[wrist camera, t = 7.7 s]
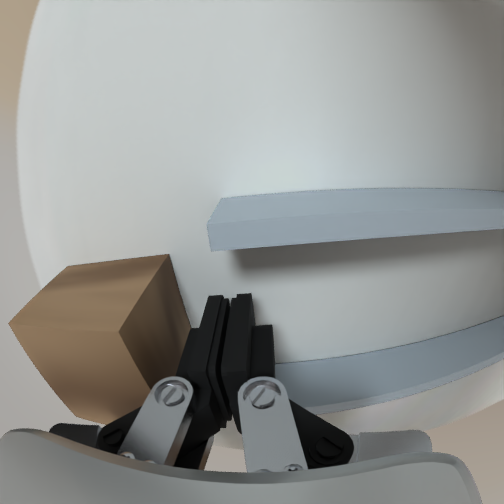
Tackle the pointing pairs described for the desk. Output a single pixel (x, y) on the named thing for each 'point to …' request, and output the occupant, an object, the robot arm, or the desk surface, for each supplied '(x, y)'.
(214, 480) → the robot arm
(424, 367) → the channel
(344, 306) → the desk surface
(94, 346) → the walnut block
